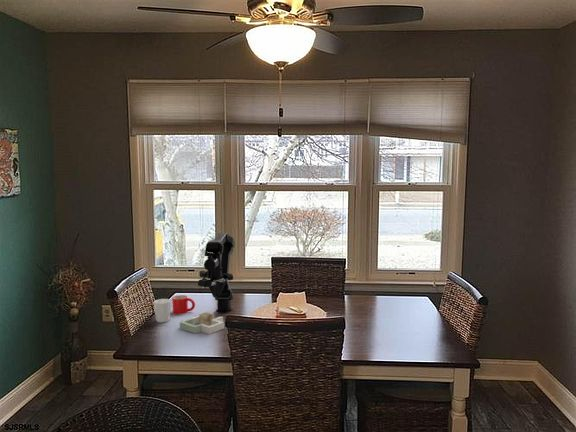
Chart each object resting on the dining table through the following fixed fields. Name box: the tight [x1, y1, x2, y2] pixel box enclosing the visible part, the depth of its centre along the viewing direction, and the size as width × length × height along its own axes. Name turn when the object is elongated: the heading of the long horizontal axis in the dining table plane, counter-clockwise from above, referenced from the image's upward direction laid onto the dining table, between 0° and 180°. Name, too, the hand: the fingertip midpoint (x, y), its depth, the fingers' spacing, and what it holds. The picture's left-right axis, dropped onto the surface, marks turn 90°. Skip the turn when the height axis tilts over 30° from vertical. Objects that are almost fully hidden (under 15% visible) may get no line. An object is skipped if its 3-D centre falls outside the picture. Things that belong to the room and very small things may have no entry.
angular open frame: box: [179, 315, 225, 335], centre depth 238 cm, size 18×18×3 cm
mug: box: [171, 294, 196, 315], centre depth 261 cm, size 8×12×8 cm, turn 85°
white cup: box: [153, 298, 171, 323], centre depth 248 cm, size 8×8×10 cm
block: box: [198, 311, 215, 326], centre depth 242 cm, size 5×5×5 cm
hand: (216, 296), depth 246 cm, fingers open, 3 cm apart
